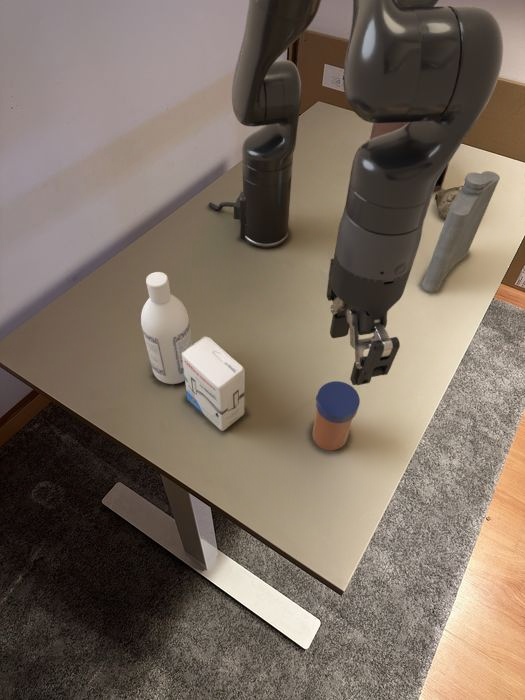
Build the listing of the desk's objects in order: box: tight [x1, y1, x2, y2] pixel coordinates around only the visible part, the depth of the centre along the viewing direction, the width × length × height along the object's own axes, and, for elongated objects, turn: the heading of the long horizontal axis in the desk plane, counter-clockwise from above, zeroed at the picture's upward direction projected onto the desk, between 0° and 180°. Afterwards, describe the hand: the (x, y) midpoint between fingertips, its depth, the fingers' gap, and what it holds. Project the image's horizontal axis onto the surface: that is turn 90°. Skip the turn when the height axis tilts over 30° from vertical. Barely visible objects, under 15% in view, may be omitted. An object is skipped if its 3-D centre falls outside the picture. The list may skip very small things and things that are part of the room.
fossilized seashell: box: [434, 185, 464, 220], centre depth 110 cm, size 8×7×10 cm
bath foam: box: [140, 271, 194, 385], centre depth 75 cm, size 7×7×20 cm
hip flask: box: [421, 170, 501, 293], centre depth 92 cm, size 16×4×20 cm, turn 142°
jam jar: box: [311, 409, 354, 451], centre depth 72 cm, size 5×5×10 cm
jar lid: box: [315, 380, 361, 423], centre depth 69 cm, size 6×6×2 cm
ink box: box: [182, 335, 246, 432], centre depth 74 cm, size 9×5×12 cm, turn 45°
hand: (348, 357), depth 61 cm, fingers open, 6 cm apart
